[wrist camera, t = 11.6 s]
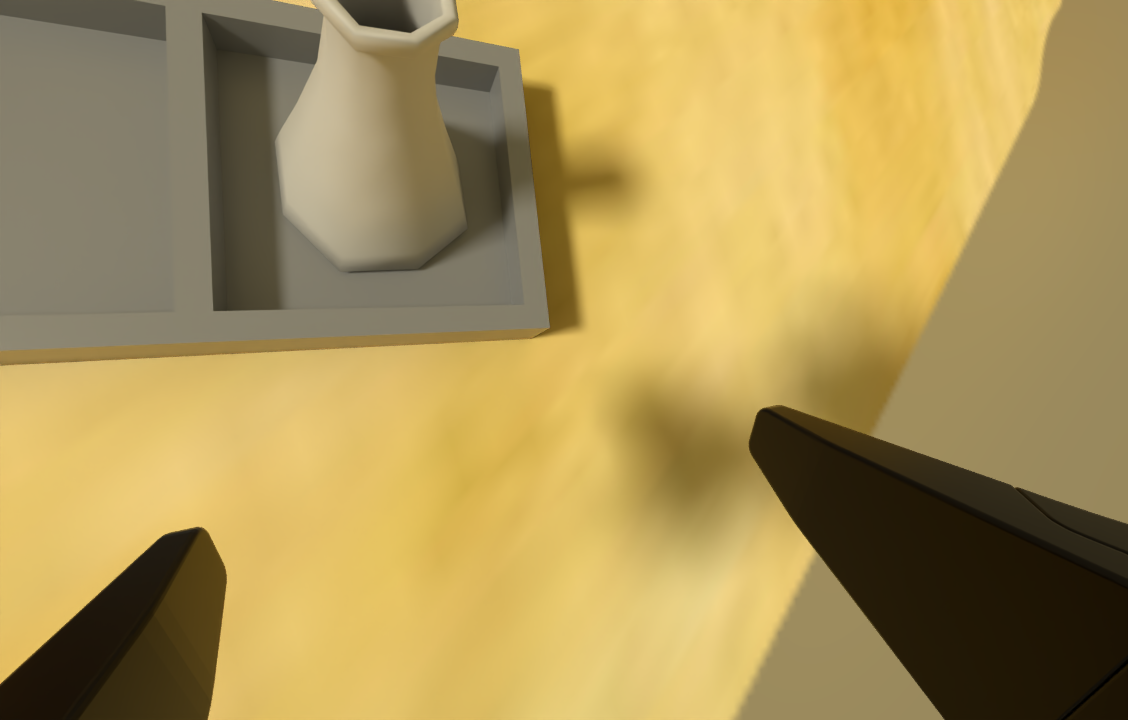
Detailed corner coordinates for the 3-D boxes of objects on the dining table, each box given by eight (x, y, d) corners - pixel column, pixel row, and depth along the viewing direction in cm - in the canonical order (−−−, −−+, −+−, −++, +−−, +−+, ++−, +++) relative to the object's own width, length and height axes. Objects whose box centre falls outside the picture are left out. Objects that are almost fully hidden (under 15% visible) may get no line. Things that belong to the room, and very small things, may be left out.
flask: (420, 92, 21) (460, -180, 11) (493, 243, 21) (590, 97, 12) (239, 129, 18) (96, -196, 8) (328, 303, 18) (283, 172, 9)
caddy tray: (531, 338, 22) (549, 327, 19) (-328, 381, 12) (-485, 371, 10) (503, 87, 23) (518, 49, 21) (-294, -44, 14) (-428, -140, 11)
